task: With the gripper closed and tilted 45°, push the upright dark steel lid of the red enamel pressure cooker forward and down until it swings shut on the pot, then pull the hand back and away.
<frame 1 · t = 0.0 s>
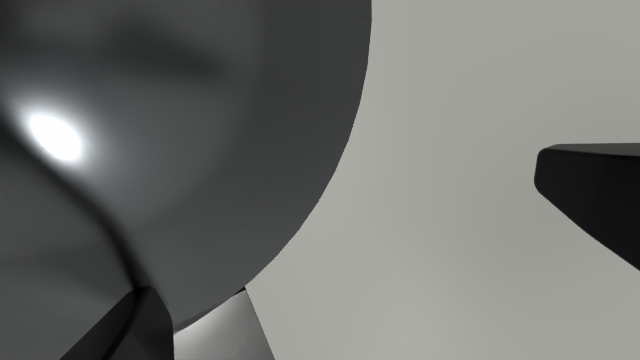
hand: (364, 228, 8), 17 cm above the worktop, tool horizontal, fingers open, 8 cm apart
cooker lid: (38, 158, 6), point 13 cm above the worktop, hinge at 85.7°, touching gripper
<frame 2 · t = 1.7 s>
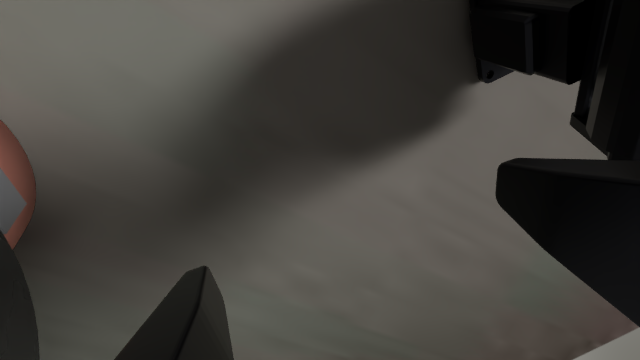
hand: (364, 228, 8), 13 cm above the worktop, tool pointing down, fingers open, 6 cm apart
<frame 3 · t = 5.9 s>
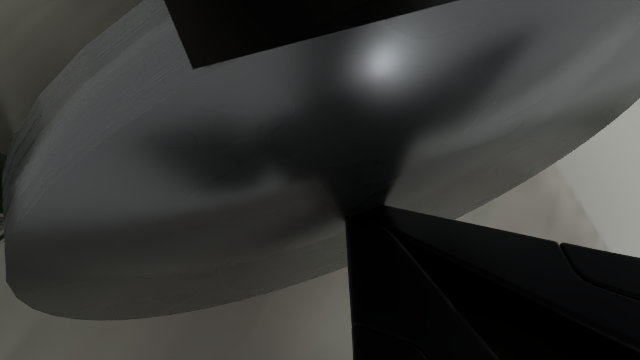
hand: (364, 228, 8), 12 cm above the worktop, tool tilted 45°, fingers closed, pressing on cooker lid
cooker lid: (361, 170, 7), point 13 cm above the worktop, hinge at 80.8°, touching gripper
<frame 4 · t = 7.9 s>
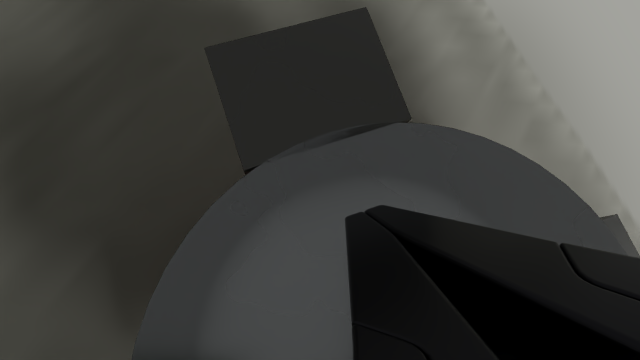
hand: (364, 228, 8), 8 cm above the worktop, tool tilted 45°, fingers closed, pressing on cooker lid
cooker pot: (356, 337, 15), on the worktop
cooker lid: (389, 320, 8), point 7 cm above the worktop, hinge at 3.6°, touching gripper
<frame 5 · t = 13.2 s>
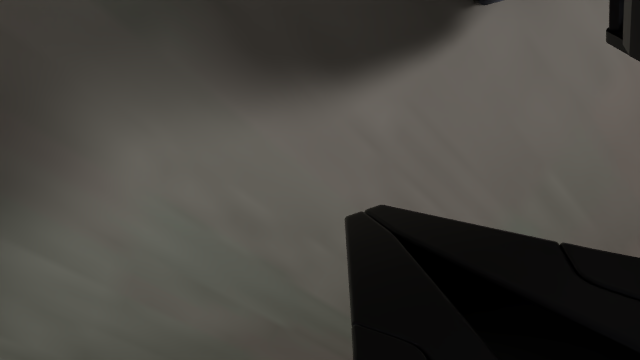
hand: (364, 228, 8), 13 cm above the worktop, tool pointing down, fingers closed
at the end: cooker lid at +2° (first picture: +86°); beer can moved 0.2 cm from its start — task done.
